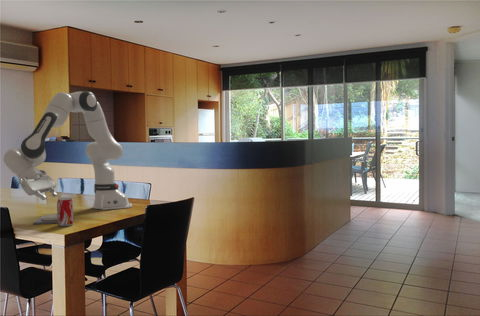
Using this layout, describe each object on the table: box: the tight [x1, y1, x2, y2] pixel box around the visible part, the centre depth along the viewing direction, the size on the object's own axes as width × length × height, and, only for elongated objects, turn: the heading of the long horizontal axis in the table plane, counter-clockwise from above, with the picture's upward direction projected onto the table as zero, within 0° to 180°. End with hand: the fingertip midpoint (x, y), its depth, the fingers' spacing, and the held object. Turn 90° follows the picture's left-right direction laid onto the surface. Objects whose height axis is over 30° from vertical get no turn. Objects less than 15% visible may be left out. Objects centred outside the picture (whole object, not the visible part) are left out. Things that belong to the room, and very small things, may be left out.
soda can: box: [56, 197, 74, 228], centre depth 201 cm, size 7×7×13 cm
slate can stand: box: [33, 213, 58, 225], centre depth 212 cm, size 15×15×2 cm
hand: (50, 197), depth 201 cm, fingers open, 8 cm apart
